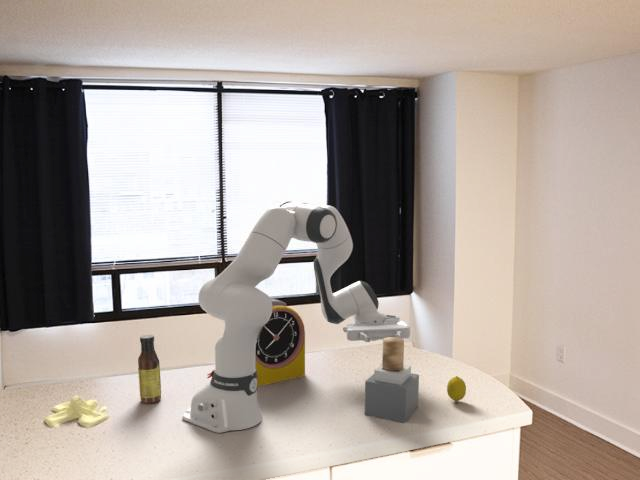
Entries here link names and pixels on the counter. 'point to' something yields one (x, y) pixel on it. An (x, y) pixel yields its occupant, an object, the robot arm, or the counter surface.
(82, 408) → the pale yellow lumpy piece
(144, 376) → the sauce bottle
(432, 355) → the counter surface
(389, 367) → the stopper
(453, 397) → the lemon
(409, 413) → the grey box with opening
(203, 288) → the robot arm
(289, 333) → the alarm clock
